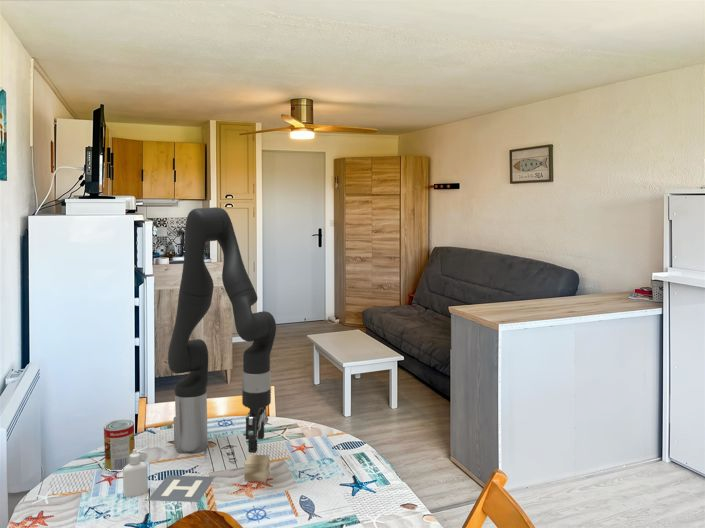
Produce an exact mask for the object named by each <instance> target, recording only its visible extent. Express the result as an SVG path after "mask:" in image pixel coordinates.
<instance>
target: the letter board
mask: <svg viewBox="0 0 705 528" xmlns="http://www.w3.org/2000/svg"><path fill="white" fill-rule="evenodd" d="M215 477H216V476H207V475H206V476H205V475H204V476H203V475H198V476H197V475H174V474H173V475H172V474H171V475H169V474H168V475H167V476H166V477H165V478H164V479H163V481H162V482H161V483H160V484H159V485H158V487H157V488H156V489H155V490H154V491H153V493H151V495H150V496H149V497H148V498H147V501H151V502H152V501H153V502H154V501H155V502H156V501H157V502H158V501H159V502H183V503H187V502H188V503H199V502H200V501H201V499H202V497H204V494H205V493H206V492H207V490H208V488H209V487H210V485H211V484H212V482H213V480H214V479H215Z"/></svg>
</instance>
